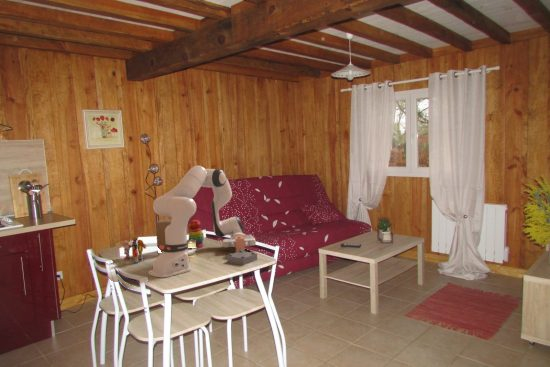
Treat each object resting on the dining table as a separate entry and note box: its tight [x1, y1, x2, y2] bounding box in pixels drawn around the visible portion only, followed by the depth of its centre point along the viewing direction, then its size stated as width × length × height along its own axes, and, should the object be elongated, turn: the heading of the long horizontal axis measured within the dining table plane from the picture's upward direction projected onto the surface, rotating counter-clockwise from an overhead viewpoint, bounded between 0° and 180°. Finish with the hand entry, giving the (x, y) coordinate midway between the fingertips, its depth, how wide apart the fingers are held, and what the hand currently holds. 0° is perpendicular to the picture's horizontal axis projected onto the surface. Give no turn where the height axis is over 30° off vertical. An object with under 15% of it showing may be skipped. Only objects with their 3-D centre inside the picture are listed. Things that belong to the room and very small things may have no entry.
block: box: [155, 218, 172, 252], centre depth 245 cm, size 10×10×20 cm
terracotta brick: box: [235, 236, 246, 253], centre depth 236 cm, size 5×5×11 cm
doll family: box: [121, 236, 147, 265], centre depth 230 cm, size 21×10×13 cm, turn 42°
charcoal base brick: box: [226, 250, 258, 266], centre depth 222 cm, size 12×12×5 cm
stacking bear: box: [188, 219, 204, 249], centre depth 256 cm, size 11×10×18 cm
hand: (240, 245), depth 235 cm, fingers closed on terracotta brick, 5 cm apart
